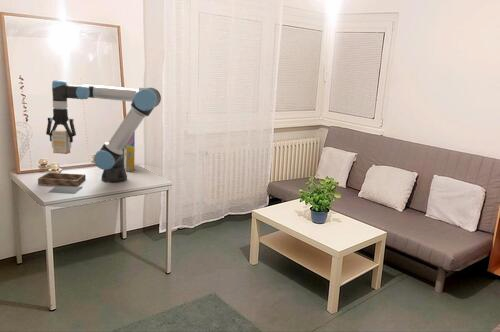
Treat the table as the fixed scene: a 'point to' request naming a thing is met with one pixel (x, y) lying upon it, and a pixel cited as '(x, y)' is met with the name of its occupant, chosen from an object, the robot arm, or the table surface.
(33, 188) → the table surface
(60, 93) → the robot arm
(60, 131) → the supplement box
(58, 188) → the rubber mat
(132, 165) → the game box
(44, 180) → the brown wooden tray
